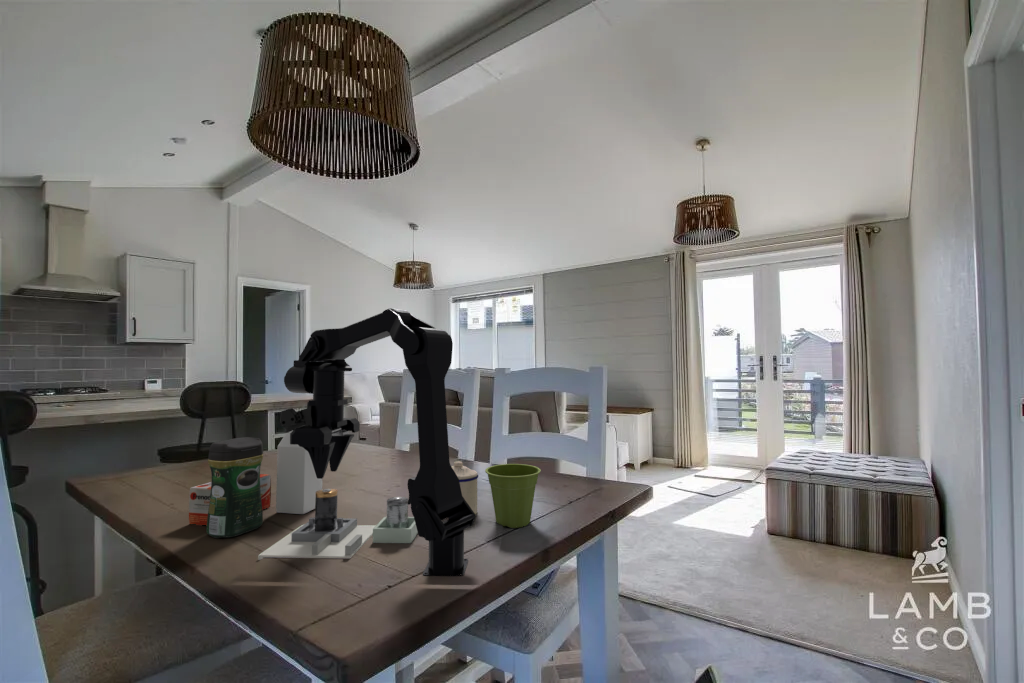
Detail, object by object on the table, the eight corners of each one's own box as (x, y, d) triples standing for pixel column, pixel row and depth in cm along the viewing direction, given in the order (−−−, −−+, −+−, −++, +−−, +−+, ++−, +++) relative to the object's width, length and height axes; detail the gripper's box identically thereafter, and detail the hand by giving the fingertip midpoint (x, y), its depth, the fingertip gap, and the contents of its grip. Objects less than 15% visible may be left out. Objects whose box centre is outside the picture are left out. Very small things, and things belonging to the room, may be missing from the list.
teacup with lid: (484, 510, 111) (484, 459, 111) (469, 522, 102) (469, 467, 103) (436, 506, 114) (436, 456, 115) (418, 517, 106) (418, 463, 106)
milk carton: (303, 515, 107) (305, 429, 108) (275, 513, 109) (277, 428, 110) (322, 506, 114) (323, 425, 115) (295, 504, 116) (297, 425, 117)
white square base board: (350, 561, 82) (350, 545, 82) (258, 559, 82) (258, 543, 83) (379, 529, 98) (379, 516, 98) (302, 528, 98) (302, 515, 99)
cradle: (335, 537, 90) (335, 523, 90) (301, 537, 90) (302, 523, 90) (348, 526, 96) (348, 513, 96) (316, 526, 97) (317, 513, 97)
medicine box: (242, 505, 116) (243, 471, 116) (271, 507, 114) (272, 473, 114) (186, 525, 101) (188, 487, 101) (219, 528, 99) (220, 489, 99)
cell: (331, 531, 91) (332, 492, 92) (311, 530, 91) (311, 492, 92) (340, 524, 95) (340, 487, 96) (320, 524, 95) (321, 487, 96)
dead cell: (404, 539, 91) (405, 501, 91) (383, 539, 91) (384, 500, 91) (410, 532, 95) (410, 495, 95) (389, 532, 95) (390, 495, 95)
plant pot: (473, 523, 102) (473, 469, 102) (513, 511, 110) (512, 461, 111) (513, 537, 93) (513, 478, 94) (552, 523, 102) (552, 469, 102)
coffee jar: (243, 521, 103) (245, 434, 104) (269, 526, 100) (271, 436, 101) (197, 536, 94) (200, 440, 95) (224, 542, 91) (227, 443, 92)
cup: (411, 545, 89) (411, 529, 89) (372, 545, 89) (372, 528, 89) (420, 532, 96) (420, 517, 96) (384, 531, 96) (384, 516, 96)
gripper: (310, 391, 104) (308, 464, 104) (262, 397, 86) (259, 486, 85) (361, 392, 104) (359, 465, 103) (323, 397, 85) (321, 486, 84)
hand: (327, 474), depth 94 cm, fingers open, 6 cm apart
